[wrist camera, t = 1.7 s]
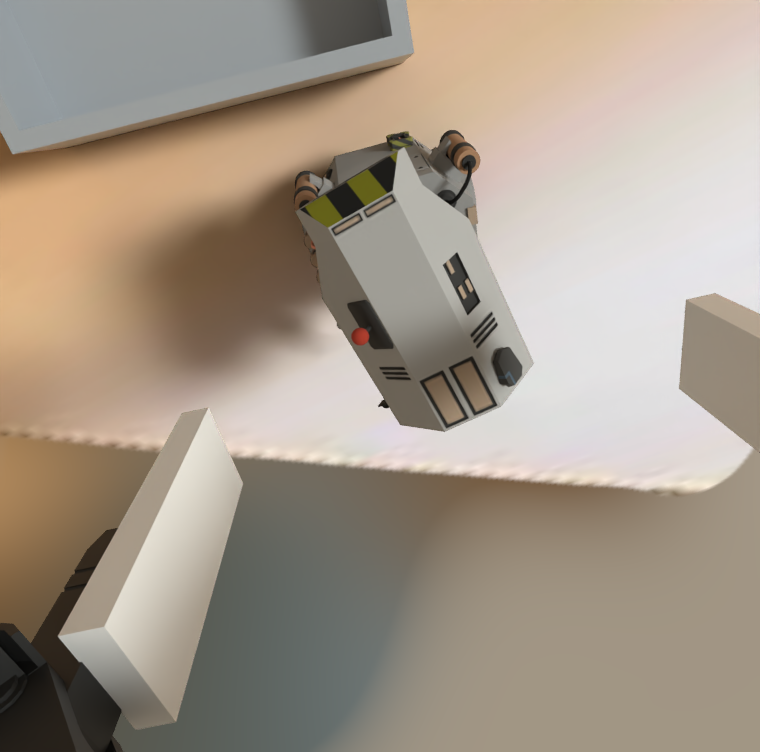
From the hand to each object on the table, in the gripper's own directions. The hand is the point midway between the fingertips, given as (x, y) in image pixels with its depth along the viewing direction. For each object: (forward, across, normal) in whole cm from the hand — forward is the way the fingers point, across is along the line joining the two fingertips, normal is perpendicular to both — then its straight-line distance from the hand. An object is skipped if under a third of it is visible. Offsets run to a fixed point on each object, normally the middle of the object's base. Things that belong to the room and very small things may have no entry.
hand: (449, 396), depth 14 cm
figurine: (+19, 0, 0) cm, 19 cm away
